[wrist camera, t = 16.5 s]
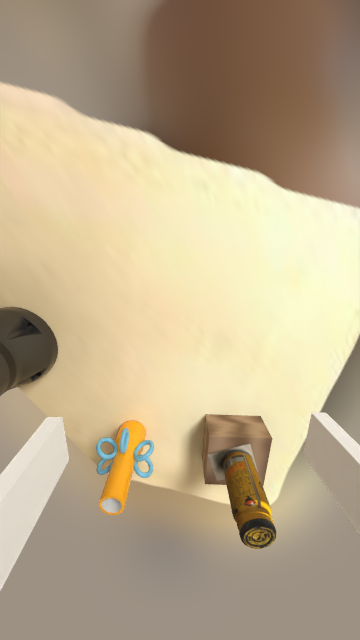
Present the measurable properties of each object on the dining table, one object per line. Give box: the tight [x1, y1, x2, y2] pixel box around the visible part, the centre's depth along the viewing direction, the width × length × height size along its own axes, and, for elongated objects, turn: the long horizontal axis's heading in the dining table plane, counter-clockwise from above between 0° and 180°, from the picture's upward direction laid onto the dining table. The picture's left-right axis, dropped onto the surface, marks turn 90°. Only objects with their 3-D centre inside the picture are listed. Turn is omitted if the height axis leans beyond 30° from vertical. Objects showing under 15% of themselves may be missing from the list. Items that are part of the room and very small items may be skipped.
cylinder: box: [96, 421, 154, 515], centre depth 40 cm, size 12×10×15 cm
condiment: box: [208, 444, 276, 549], centre depth 36 cm, size 7×8×12 cm
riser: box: [202, 414, 272, 486], centre depth 45 cm, size 12×12×6 cm
